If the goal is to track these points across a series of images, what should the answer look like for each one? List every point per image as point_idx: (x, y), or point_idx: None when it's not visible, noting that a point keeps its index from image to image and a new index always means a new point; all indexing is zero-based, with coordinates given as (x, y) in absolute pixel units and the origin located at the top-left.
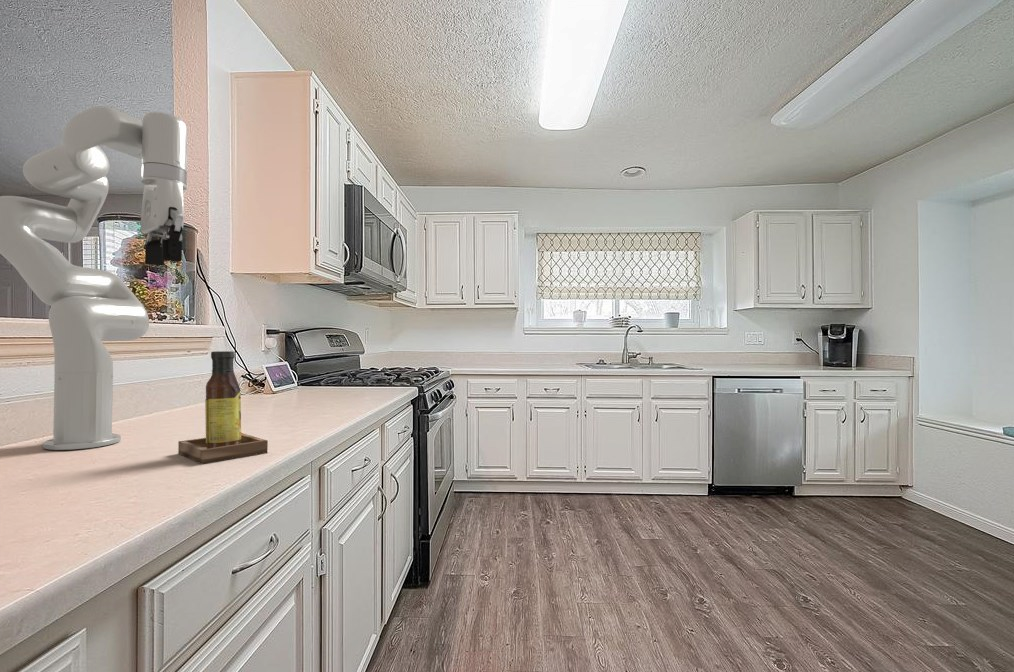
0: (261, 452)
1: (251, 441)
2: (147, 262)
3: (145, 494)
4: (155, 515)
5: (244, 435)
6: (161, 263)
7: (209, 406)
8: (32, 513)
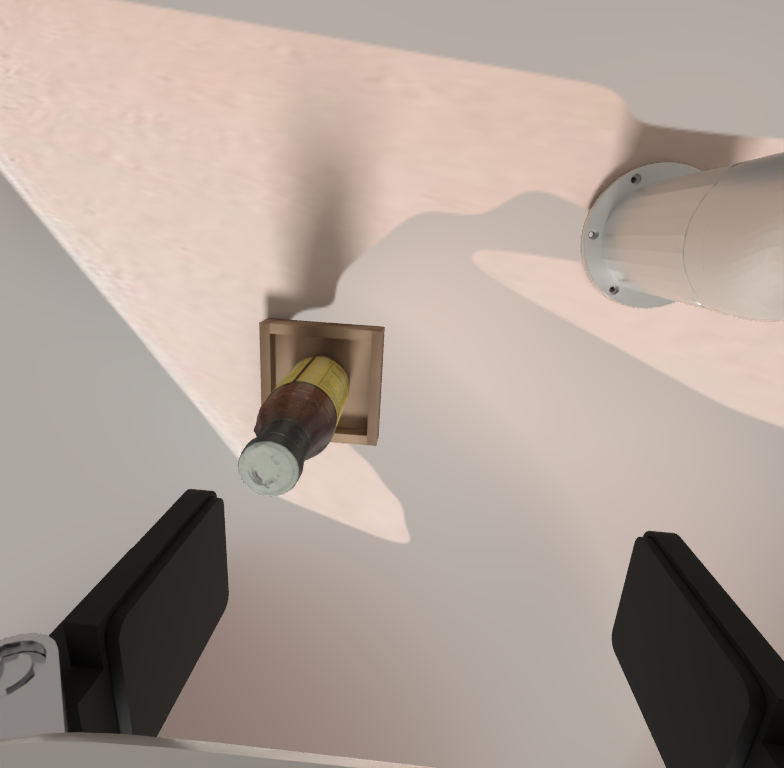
0: None
1: None
2: (641, 539)
3: (137, 181)
4: (22, 152)
5: (342, 435)
6: (617, 636)
7: (291, 377)
8: (143, 34)
